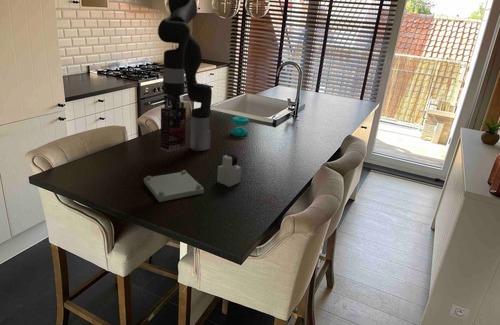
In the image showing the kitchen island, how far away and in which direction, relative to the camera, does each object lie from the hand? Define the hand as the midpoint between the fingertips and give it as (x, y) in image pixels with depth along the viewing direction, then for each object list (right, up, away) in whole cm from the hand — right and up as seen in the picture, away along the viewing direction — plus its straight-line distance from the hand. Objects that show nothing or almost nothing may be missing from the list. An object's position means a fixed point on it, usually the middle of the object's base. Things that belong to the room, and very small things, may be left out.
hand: (173, 125), depth 136 cm
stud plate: (-2, -24, +8) cm, 25 cm away
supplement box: (-1, -9, +3) cm, 9 cm away
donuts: (+23, +3, +80) cm, 83 cm away
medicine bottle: (+20, -22, +17) cm, 35 cm away
